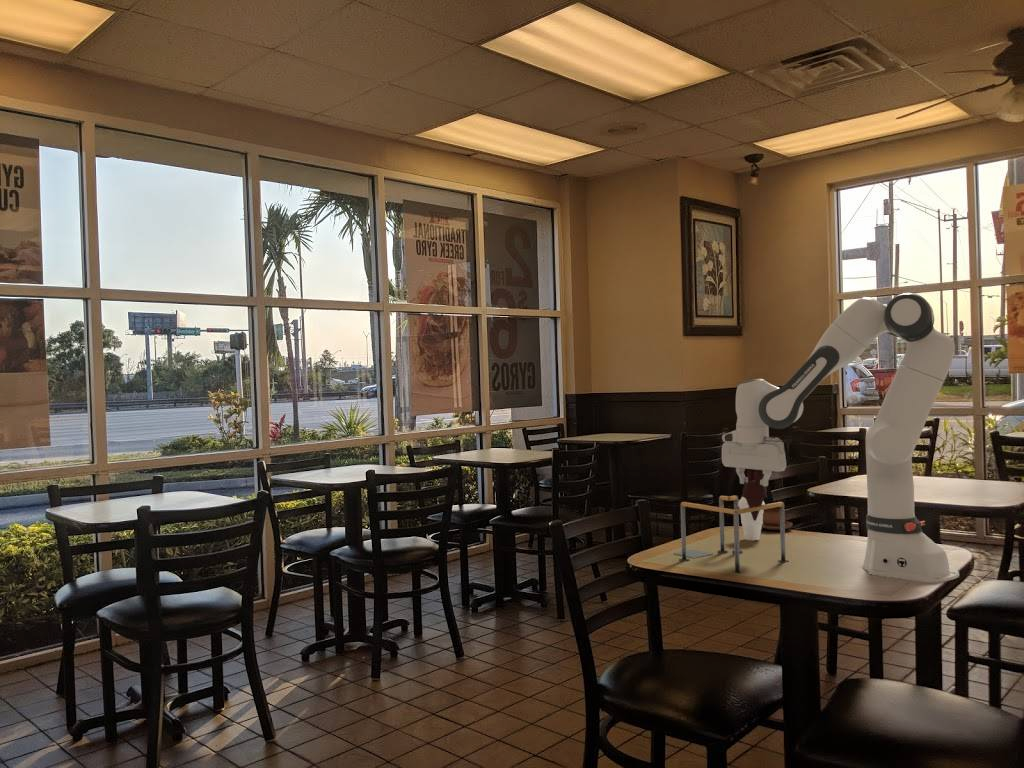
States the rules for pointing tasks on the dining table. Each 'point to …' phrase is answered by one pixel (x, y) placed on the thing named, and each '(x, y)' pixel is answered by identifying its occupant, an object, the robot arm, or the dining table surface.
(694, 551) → the mat
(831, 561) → the dining table surface
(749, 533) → the soft serve ice cream cone
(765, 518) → the cup and saucer
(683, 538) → the wire frame
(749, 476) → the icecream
